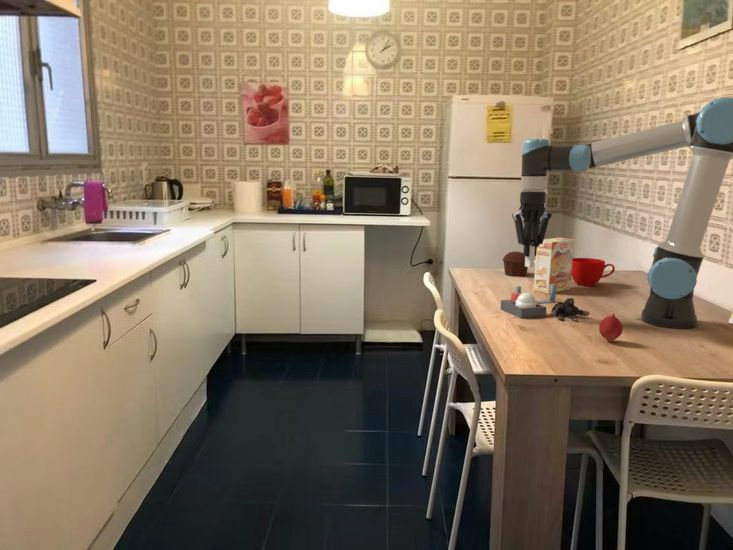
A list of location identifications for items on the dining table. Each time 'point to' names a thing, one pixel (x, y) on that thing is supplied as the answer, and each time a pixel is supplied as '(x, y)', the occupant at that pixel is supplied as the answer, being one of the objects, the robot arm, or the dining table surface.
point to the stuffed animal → (567, 310)
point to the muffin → (515, 264)
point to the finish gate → (552, 300)
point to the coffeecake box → (553, 264)
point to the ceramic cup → (588, 271)
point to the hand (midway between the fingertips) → (529, 266)
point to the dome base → (522, 312)
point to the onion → (610, 328)
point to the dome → (526, 300)
